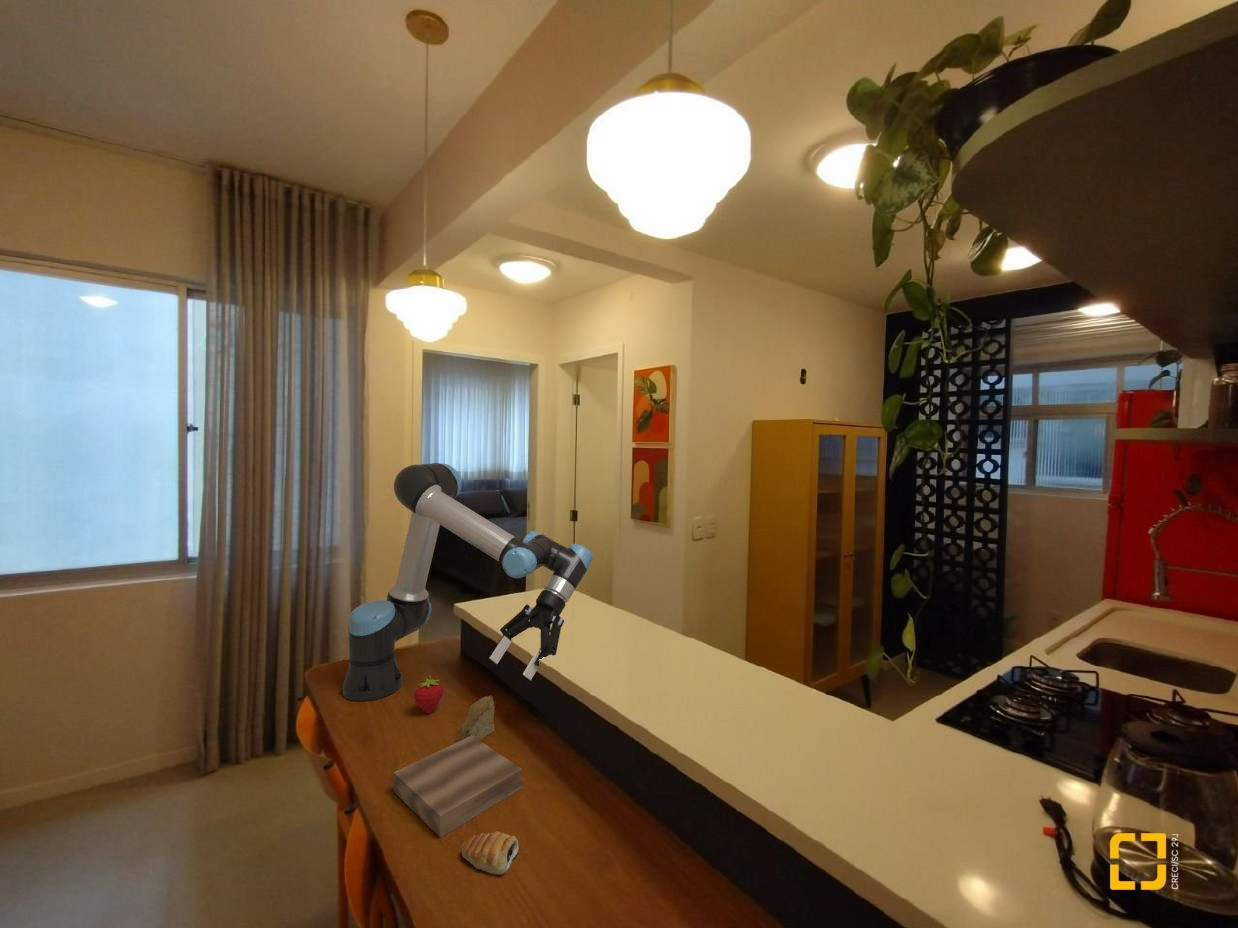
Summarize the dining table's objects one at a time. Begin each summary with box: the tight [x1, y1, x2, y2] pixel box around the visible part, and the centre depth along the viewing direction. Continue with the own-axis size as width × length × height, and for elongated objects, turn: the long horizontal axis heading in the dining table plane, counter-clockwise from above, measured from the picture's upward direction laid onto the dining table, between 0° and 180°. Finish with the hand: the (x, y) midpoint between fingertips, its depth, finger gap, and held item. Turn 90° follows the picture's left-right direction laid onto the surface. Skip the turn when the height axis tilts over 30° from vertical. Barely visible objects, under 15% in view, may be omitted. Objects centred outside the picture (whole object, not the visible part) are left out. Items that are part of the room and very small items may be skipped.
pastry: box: [460, 830, 519, 876], centre depth 89 cm, size 9×7×4 cm
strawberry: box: [413, 673, 445, 714], centre depth 135 cm, size 6×8×10 cm
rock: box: [455, 695, 496, 743], centre depth 125 cm, size 11×9×10 cm
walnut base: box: [393, 735, 523, 839], centre depth 106 cm, size 18×18×4 cm
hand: (509, 669), depth 131 cm, fingers open, 13 cm apart
